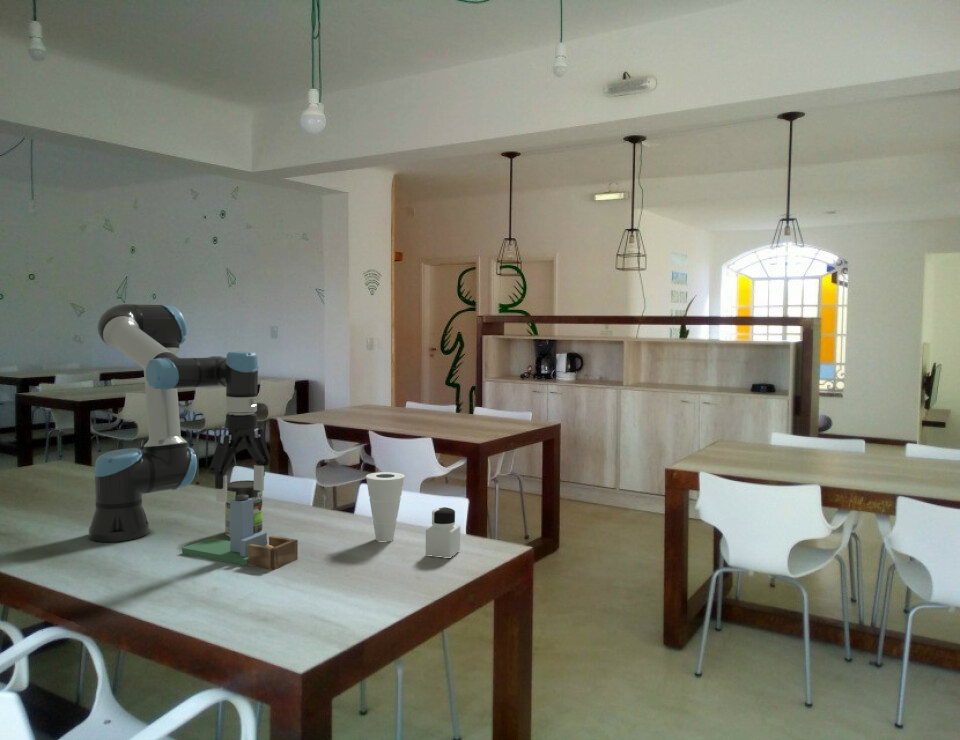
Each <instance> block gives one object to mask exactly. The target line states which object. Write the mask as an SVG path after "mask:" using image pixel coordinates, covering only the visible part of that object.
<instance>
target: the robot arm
mask: <svg viewBox="0 0 960 740" xmlns="http://www.w3.org/2000/svg"><path fill="white" fill-rule="evenodd" d="M187 329H188V328H187V323H186V320H185V318H184V315H183V314H182V311H180V310H179V309H178V308H177V307H175V306H173V305H163V304H130V303H121V304H117V305H114V306H112V307H110V308H109V309H107V310H106V311H104V312H103V314H102V315H101V316H100V318H99V320H98V323H97V332H98V335H99V337H100V339H101V340H102V341H103V343H104V344H105V345H107V346H108V347H109V348H111V349H114V350H118V351H120V352H122V353H123V354H124V355H125V356H127V357H128V358H129V359H130V360H132V361H133V362H134V363H136V364H137V365H138V366H139V367H141V368H142V369H143V375H144V377H143V378H144V389H145V402H146V416H147V418H146V419H147V430H148V431H147V432H148V440H147V442H146V443H145V444H144V445H143V452H142V450H141V449H140V448H137V447H130V448H129V447H128V448H121V449H115V450H111V451H108V452H107V451H106V452H104V453H102V454H101V455H99V456H98V457H97V458H96V459H95V464H94V465H95V466H94V467H95V468H94V473H93V474H94V481H95V482H94V485H95V486H94V487H95V490H94V491H95V494H94V497H95V498H94V499H95V500H94V501H95V510H94V514H93V517H92V520H91V523H90V526H89V528H88V539H89V540H91V541H93V542H100V543H116V542H125V541H131V540H135V539H136V540H137V539H139V538H142V537H146V535H148V534H149V532H150V522H149V521H148V519H147V514H146V512H145V509H144V507H143V495H144V494H151V493H157V492H164V491H170V490H171V491H174V490H177V489H181V488H185V487H188V486H189V485H190V484H191V483H192V482H193V481H194V479H195V476H196V473H197V466H198V460H197V455H196V452H195V450H194V449H193V448H192V447H189V446H188V442H187V440H185V439H184V438H183V437H182V436H181V435H182V434H181V433H182V432H181V420H180V407H179V406H180V405H179V396H178V389H189V388H209V387H210V388H211V387H224V388H225V411H226V412H227V413H226V415H225V428H226V429H227V430H228V434H219V435H218V438H217V444H216V445H217V446H216V447H215V451H214V454H213V457H212V459H211V463H210V466H209V469H208V471H207V472H208V474H209V475H213V476H214V482H215V483H214V488H215V489H216V490H215V491H216V494H215V495H216V496H215V497H216V498H215V502H221V503H225V502H227V483H228V475H226V473H227V471H228V469H229V467H230V465H231V463H232V462H233V460H234V458H235V456H236V454H238V453H239V452H240V451H243V450H247V452H248V454H249V455H250V456H251V459H253V461H254V462H255V464H254V465H253V481H254V490H259V491H265V475H266V466H269V464H270V462H271V460H272V458H271V455H270V452H269V449H268V445H267V442H266V440H265V437H264V429H263V428H257V427H258V414H257V413H256V412H257V411H258V384H259V382H258V379H259V378H258V377H259V366H258V364H259V363H258V355H257V353H256V352H254V351H242V350H241V351H240V350H239V351H229V352H228V353H226V357H223V356H222V355H221V356H219V355H217V356H215V355H213V356H208V357H179V356H178V355H177V353H178V352H179V351H180V350H181V349H180V346H181V345H183V344H184V343H185V341H186V339H187V337H186V336H187V334H188V332H187V331H188V330H187Z"/></svg>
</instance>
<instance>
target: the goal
mask: <svg viewBox="0 0 960 740" xmlns="http://www.w3.org/2000/svg"><path fill="white" fill-rule="evenodd" d="M298 544H299V543H298V539H295V538H289V537H282V536H276V535H270V536H268V545H271V546H273V547H268V546H262V545H256V544H250V545H248V565H247V566H252V567H258V568H263V569H269V570H274V571H275V570H277V569H279V568H281V567H284V566H286V565H288V564H290V563H292V562H295V561H297V560H298V554H299V553H298V549H299V548H298Z"/></svg>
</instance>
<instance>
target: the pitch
mask: <svg viewBox="0 0 960 740" xmlns="http://www.w3.org/2000/svg"><path fill="white" fill-rule="evenodd" d="M181 554H182V555H188V556H192V557H199V558H204V559H210V560H213V561H221V562H226V563H231V564H236V565H241V566H249V565H248V556H246V557H243V556H240V553H239V552H233V551H230V540H225V539H220V538H219V539H217V538H215V537H214V538H213V537H210V538H207V539H203V540H201V541H198V542H196V543H191V544H189V545H187V546H186V545H185V546H183V547H182V548H181Z"/></svg>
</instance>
